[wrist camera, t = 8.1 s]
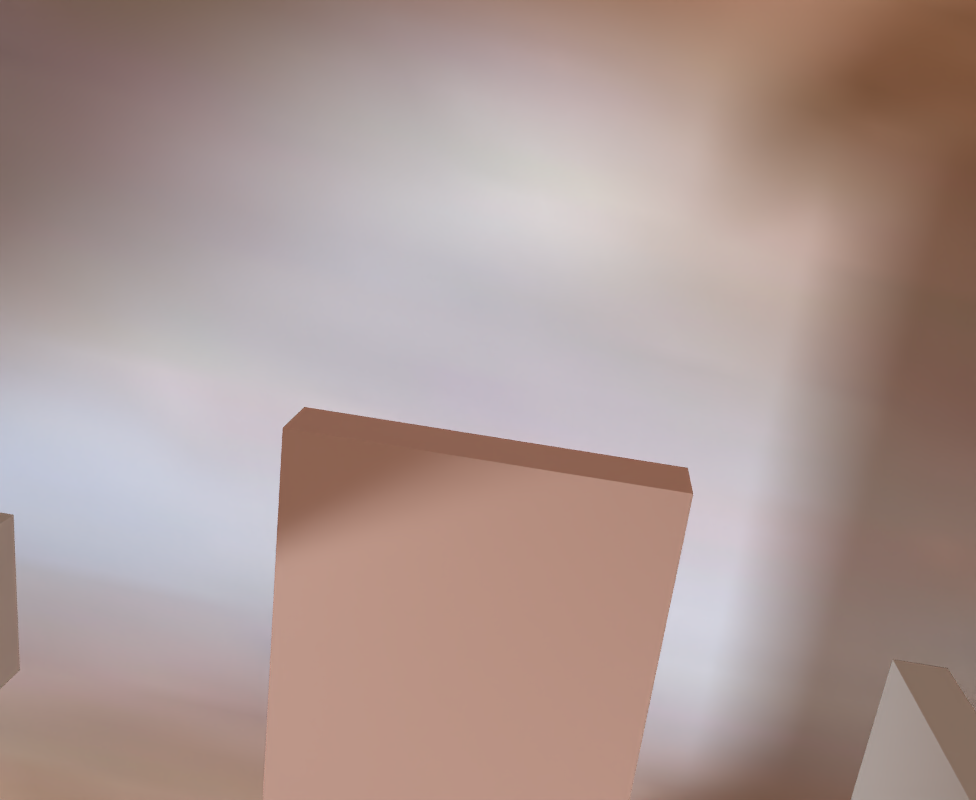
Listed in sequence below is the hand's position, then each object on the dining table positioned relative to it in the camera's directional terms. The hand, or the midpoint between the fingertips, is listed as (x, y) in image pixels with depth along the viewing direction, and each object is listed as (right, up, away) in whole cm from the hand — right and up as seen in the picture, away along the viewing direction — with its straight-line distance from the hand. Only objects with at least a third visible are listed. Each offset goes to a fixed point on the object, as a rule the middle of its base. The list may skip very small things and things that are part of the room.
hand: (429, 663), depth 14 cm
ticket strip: (-1, -8, +4) cm, 9 cm away
